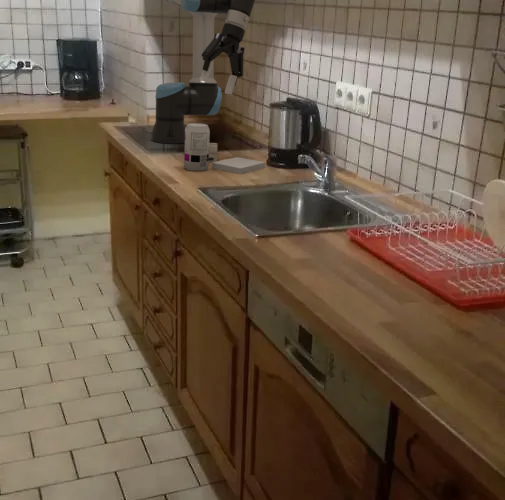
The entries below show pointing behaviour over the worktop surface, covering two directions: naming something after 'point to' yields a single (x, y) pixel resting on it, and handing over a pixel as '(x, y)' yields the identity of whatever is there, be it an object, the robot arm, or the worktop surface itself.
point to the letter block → (212, 152)
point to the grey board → (238, 165)
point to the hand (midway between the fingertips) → (215, 87)
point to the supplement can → (196, 147)
